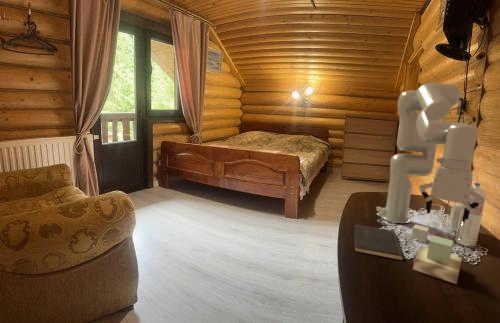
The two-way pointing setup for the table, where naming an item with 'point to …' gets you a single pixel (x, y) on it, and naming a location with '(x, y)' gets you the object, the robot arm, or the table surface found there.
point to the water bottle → (470, 221)
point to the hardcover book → (377, 242)
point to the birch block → (437, 266)
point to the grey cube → (420, 233)
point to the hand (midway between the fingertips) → (445, 216)
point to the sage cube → (440, 249)
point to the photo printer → (455, 216)
